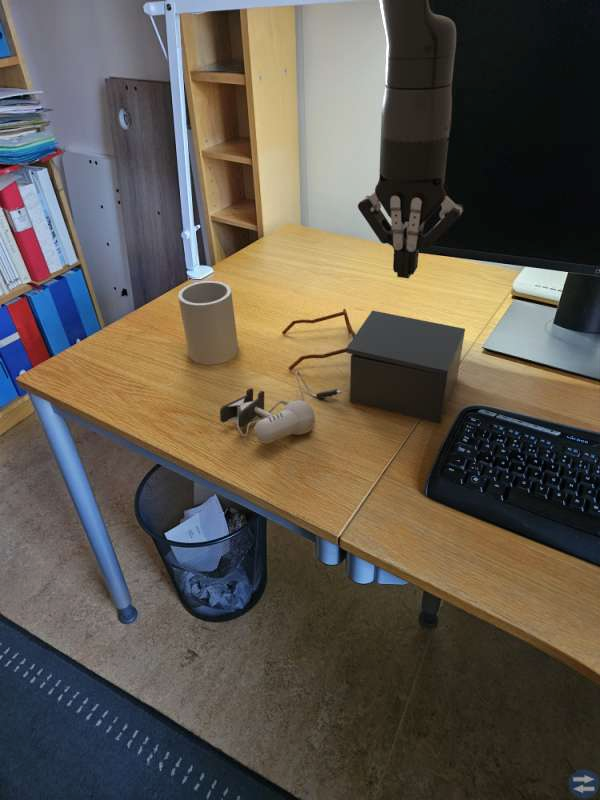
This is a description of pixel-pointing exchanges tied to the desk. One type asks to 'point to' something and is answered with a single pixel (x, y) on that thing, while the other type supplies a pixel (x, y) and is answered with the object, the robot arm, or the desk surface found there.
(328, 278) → the desk surface
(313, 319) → the glasses
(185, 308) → the cup
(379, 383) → the box
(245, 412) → the clip-on lamp
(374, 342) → the box lid
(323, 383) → the desk surface
